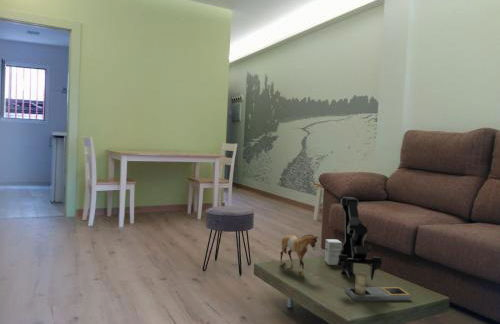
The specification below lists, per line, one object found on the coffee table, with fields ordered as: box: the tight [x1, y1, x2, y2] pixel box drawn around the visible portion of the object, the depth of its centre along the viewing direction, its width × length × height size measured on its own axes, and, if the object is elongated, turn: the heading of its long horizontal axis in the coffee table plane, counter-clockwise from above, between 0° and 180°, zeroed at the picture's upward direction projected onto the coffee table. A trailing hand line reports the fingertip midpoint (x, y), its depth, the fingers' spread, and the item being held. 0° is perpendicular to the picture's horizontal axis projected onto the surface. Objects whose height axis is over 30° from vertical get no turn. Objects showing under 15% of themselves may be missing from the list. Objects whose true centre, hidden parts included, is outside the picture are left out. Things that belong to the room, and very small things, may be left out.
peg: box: [354, 271, 367, 295], centre depth 172 cm, size 4×4×10 cm
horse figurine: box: [279, 234, 319, 277], centre depth 207 cm, size 31×8×21 cm, turn 25°
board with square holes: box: [344, 286, 412, 302], centre depth 174 cm, size 25×11×2 cm, turn 98°
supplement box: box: [324, 238, 343, 266], centre depth 222 cm, size 7×7×13 cm
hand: (361, 279), depth 172 cm, fingers open, 9 cm apart
